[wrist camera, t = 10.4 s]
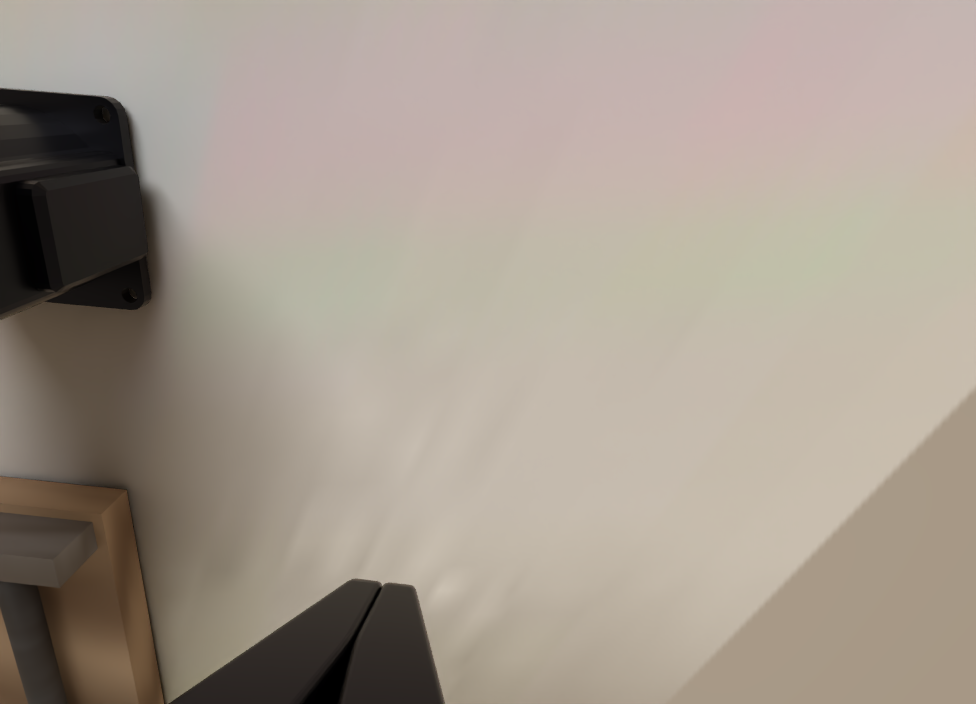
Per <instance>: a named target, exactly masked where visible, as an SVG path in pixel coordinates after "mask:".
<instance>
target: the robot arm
mask: <svg viewBox="0 0 976 704" xmlns="http://www.w3.org/2000/svg"><path fill="white" fill-rule="evenodd" d="M104 107H105V108H106V109H107V110H108V111H109V113H110V121H109V122H107V121H106V120H105V119H104V118H103V115H102V109H103V108H104ZM147 252H148V245H147V238H146V231H145V223H144V216H143V209H142V201H141V194H140V187H139V179H138V175H137V173H136V172H135V171H134V165H133V157H132V150H131V143H130V136H129V128H128V121H127V115H126V112H125V109H124V107H123V106H122V105H121V103H120V102H119V101H117V100H116V99H115V98H111V97H108V96H96V95H83V94H71V93H58V92H45V91H33V90H20V89H7V88H0V320H2V319H4V318H6V317H9V316H11V315H14V314H16V313H18V312H21V311H23V310H26V309H28V308H30V307H33V306H35V305H37V304H40V303H42V302H53V303H64V304H74V305H85V306H96V307H106V308H117V309H128V310H135V309H139V308H140V307H142V306H144V305H146V304H147V303H149V301H150V299H151V288H150V280H149V273H148V266H147V259H146V254H147ZM129 288H131V289H133V290H134V291H135V292H136V295H137V299H135V298H133V297H132V296H131V295H130V292H129ZM169 704H445V702H444V698H443V694H442V690H441V686H440V682H439V678H438V674H437V670H436V667H435V663H434V659H433V655H432V651H431V647H430V643H429V639H428V635H427V631H426V628H425V624H424V620H423V616H422V612H421V608H420V604H419V600H418V596H417V592H416V589H415V588H414V587H413V586H412V585H406V584H397V583H386V584H384V585H383V586H382V584H381V583H380V582H378V581H371V580H363V579H352V580H349V581H347V582H346V583H345V584H343V585H342V586H340V587H339V588H337V589H336V590H334V591H333V592H331V593H330V594H328V595H327V596H326V597H324V598H323V599H321V600H320V601H318V602H317V603H315V604H314V605H312V606H311V607H309V608H308V609H306V610H305V611H304V612H302V613H301V614H299V615H298V616H296V617H295V618H293V619H292V620H290V621H289V622H287V623H286V624H285V625H283V626H282V627H280V628H279V629H277V630H276V631H274V632H273V633H271V634H270V635H268V636H267V637H265V638H264V639H263V640H261V641H260V642H258V643H257V644H255V645H254V646H252V647H251V648H249V649H248V650H246V651H245V652H244V653H242V654H241V655H239V656H238V657H236V658H235V659H233V660H232V661H230V662H229V663H227V664H226V665H224V666H223V667H222V668H220V669H219V670H217V671H216V672H214V673H213V674H211V675H210V676H208V677H207V678H205V679H204V680H203V681H201V682H200V683H198V684H197V685H195V686H194V687H192V688H191V689H189V690H188V691H186V692H185V693H184V694H182V695H181V696H179V697H178V698H176V699H175V700H173V701H172V702H170V703H169Z"/></svg>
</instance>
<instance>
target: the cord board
mask: <svg viewBox="0 0 976 704" xmlns="http://www.w3.org/2000/svg"><path fill="white" fill-rule="evenodd" d="M0 704H164V700H163V694H162V689H161V683H160V677H159V672H158V666H157V660H156V654H155V649H154V643H153V637H152V632H151V626H150V620H149V615H148V609H147V603H146V597H145V592H144V586H143V580H142V575H141V569H140V563H139V558H138V552H137V546H136V540H135V535H134V529H133V523H132V518H131V512H130V506H129V501H128V495H127V490H123V489H114V488H104V487H95V486H85V485H76V484H67V483H57V482H48V481H38V480H29V479H20V478H10V477H1V476H0Z"/></svg>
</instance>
